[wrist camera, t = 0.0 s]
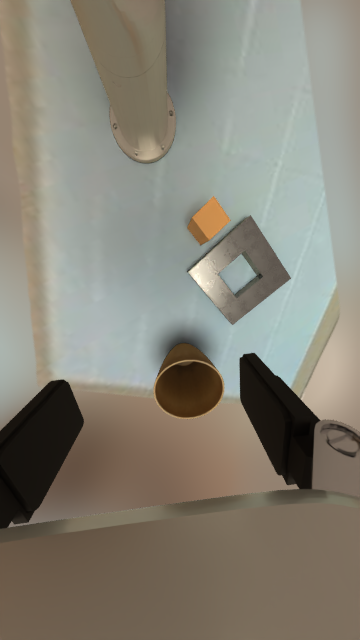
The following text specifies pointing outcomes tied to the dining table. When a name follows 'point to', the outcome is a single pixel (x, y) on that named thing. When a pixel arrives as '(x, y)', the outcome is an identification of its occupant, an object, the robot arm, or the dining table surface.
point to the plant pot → (188, 383)
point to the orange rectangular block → (208, 221)
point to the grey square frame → (259, 258)
